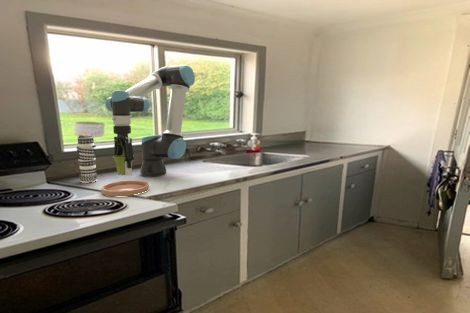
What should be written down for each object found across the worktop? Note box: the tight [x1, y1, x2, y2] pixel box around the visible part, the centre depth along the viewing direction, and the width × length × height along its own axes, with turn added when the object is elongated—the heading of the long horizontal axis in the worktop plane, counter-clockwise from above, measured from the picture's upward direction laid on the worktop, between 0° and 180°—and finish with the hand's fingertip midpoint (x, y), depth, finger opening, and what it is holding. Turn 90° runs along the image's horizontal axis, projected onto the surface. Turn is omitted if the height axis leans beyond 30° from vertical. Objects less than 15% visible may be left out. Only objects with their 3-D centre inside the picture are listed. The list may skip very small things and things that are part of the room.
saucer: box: [100, 179, 150, 197], centre depth 144 cm, size 21×21×2 cm
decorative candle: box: [76, 133, 98, 184], centre depth 160 cm, size 9×9×25 cm
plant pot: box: [112, 154, 135, 176], centre depth 142 cm, size 9×9×9 cm
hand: (124, 173), depth 142 cm, fingers closed on plant pot, 8 cm apart
